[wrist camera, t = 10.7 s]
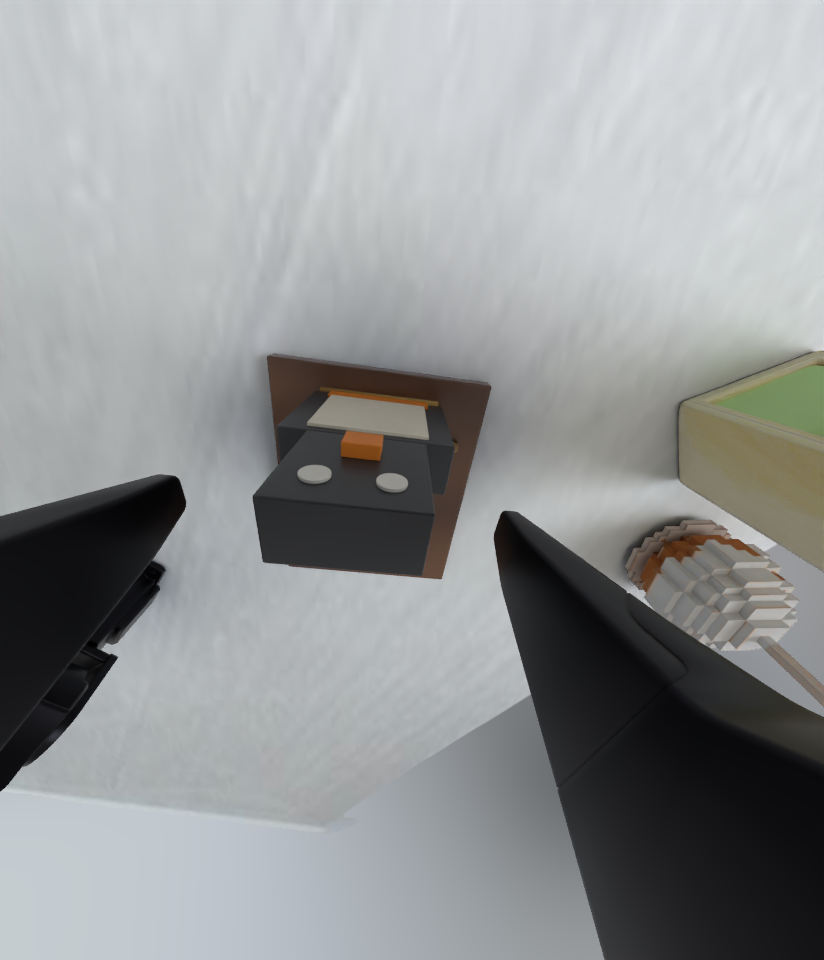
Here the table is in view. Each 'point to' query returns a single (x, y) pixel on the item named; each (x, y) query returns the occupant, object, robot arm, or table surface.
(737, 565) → the decorative ornament
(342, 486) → the penguin
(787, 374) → the toy refrigerator
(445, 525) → the stand
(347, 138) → the table surface
